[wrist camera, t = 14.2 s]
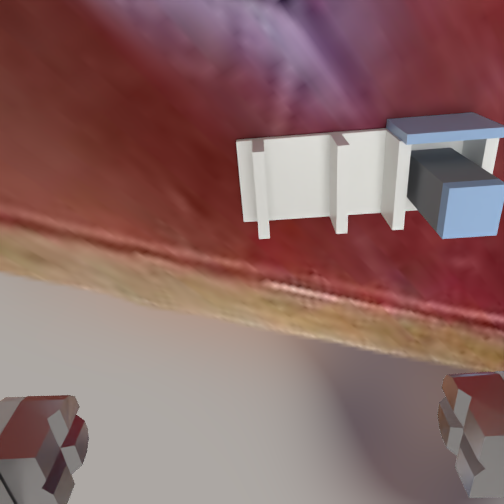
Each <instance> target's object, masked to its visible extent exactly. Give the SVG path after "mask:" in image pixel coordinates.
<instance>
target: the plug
mask: <svg viewBox="0 0 504 504" xmlns="http://www.w3.org/2000/svg"><path fill="white" fill-rule="evenodd" d="M407 198H408V199H409V200H410V202H411V203H412V204H413V205H414V206H415V207H416V209H417V210H418V211H419V212H420V213H421V214H422V216H423V217H424V218H425V219H426V220H427V221H428V223H429V224H430V225H431V226H432V227H433V229H434V230H435V231H436V232H437V233H438V234H439V236H440V237H441V238H442V239H447V238H462V237H477V236H492V235H497V231H498V226H499V221H500V217H501V212H502V207H503V202H504V182H503V181H501V180H500V179H498V178H497V177H495V176H494V175H492V174H491V173H489V172H488V171H486V170H484V169H483V168H481V167H480V166H478V165H477V164H475V163H474V162H472V161H471V160H469V159H468V158H466V157H465V156H463V155H461V154H460V153H458V152H457V151H455V150H454V149H452V148H437V149H424V150H411V156H410V166H409V177H408V187H407Z"/></svg>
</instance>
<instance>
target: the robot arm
mask: <svg viewBox="0 0 504 504" xmlns="http://www.w3.org/2000/svg"><path fill="white" fill-rule="evenodd" d="M442 390H443V392H444V394H445V396H446V397H445V398H444V399H443V400H442V401H440V402H439V406H438V414H437V415H438V424H439V429H440V433H441V436H442V439H443V441H444V443H445V446H446V448H447V449H449V450H450V451H451V452H453V453H454V454H455V455H456V456H457V460H456V465H455V468H456V470H457V472H458V475H459V477H460V479H461V481H462V483H463V485H464V488H465V490H466V492H467V494H468V497H469V498H491V497H492V498H493V497H504V371H496V372H480V373H464V374H449V375H446V376H445V377H444V379H443V383H442ZM78 409H79V404H78V403H77V400H76V398H75V396H71V395H62V396H28V397H6V398H4V399H3V400H1V401H0V504H67V503H68V500H69V498H70V495H71V493H72V490H73V488H74V485H75V483H74V480H73V477H72V474H73V473H74V472H75V471H76V470H77V469H78V468H79V467H80V466H82V464H83V462H84V459H85V456H86V453H87V448H88V440H89V437H88V428H87V425H86V423H85V421H84V420H83V419H82V418H80V417H79V416H77V415H76V414H77V411H78Z"/></svg>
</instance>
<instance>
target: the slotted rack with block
mask: <svg viewBox="0 0 504 504" xmlns="http://www.w3.org/2000/svg"><path fill="white" fill-rule="evenodd" d="M499 138H504V125H502V124H499V123H497V122H494V121H492V120H490V119H487V118H485V117H483V116H480V115H478V114H476V113H473V112H470V113H458V114H445V115H432V116H419V117H407V118H394V119H387V124H386V128H380V129H367V130H355V131H342V132H329V133H316V134H303V135H290V136H277V137H264V138H251V139H238V140H236V147H237V157H238V168H239V178H240V188H241V199H242V209H243V220H244V222H253V221H258V232H259V239H268V238H270V230H269V220H282V219H296V218H311V217H325V216H330V219H331V221H332V224H333V227H334V229H335V232H336V234H343V233H347V230H348V215H354V214H369V213H381V214H382V215H383V217H384V218H385V220H386V221H387V223H388V225H389V226H390V228H391V229H392V230H402V229H404V218H405V211H412V210H417V209H416V207H415V206H414V205H413V204H412V203H411V202H410V200H409V199H408V198H407V187H408V177H409V166H410V156H411V150H424V149H437V148H452V149H454V150H455V151H457V152H458V153H460V154H461V155H463V156H465V157H466V158H468V159H469V160H471V161H472V162H474V163H475V164H477V165H478V166H480V167H481V168H483V169H484V170H486V171H488V172H489V173H491V174H493V169H494V164H495V158H496V153H497V148H498V143H499Z"/></svg>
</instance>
